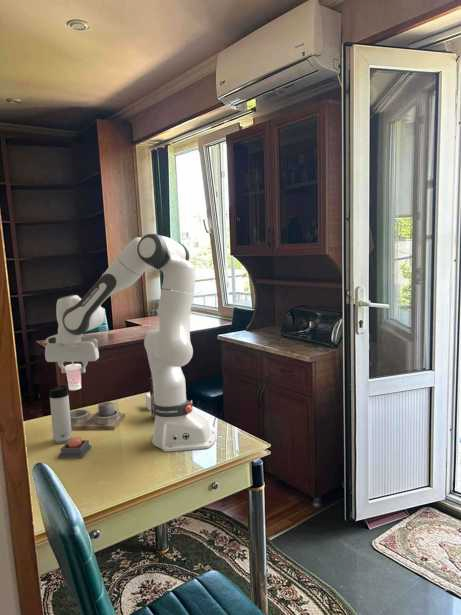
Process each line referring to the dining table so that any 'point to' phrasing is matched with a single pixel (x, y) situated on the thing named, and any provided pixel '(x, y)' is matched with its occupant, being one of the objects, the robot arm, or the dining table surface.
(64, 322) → the robot arm
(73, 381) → the beverage cup
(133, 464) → the dining table surface
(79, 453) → the button housing
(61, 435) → the travel mug
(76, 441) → the button
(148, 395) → the adhesive note
